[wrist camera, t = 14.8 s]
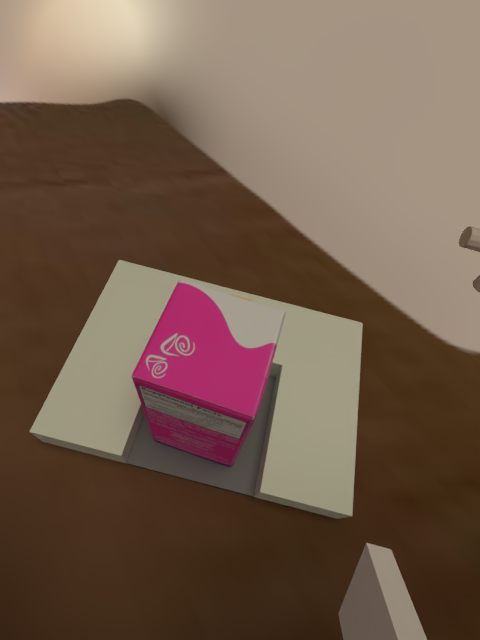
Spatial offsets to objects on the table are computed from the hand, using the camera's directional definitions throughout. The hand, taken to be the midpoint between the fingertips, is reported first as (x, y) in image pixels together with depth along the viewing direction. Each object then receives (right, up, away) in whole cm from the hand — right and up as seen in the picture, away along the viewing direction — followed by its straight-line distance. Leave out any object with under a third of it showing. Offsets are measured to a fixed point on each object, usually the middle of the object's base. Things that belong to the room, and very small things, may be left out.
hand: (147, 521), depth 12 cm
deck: (+1, +1, +17) cm, 17 cm away
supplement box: (0, -1, +15) cm, 15 cm away
